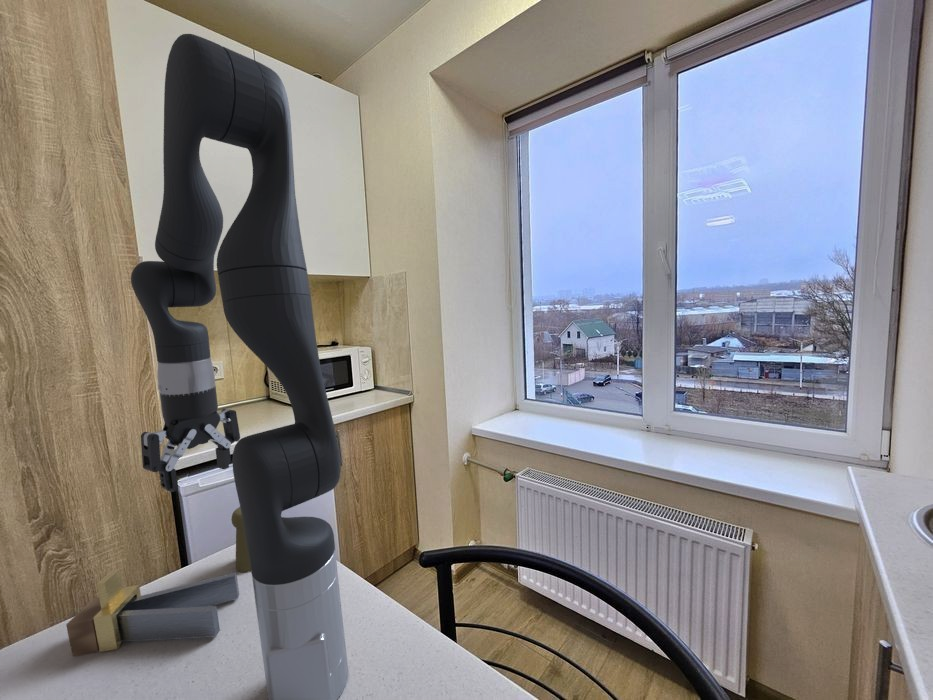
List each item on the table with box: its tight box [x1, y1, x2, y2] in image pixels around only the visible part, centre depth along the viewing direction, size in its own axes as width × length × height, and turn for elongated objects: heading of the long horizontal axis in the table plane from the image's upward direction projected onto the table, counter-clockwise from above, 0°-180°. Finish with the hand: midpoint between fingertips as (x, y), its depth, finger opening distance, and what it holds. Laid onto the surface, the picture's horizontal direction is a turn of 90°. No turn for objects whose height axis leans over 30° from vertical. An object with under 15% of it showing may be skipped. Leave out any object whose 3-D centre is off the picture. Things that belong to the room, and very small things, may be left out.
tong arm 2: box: [121, 571, 240, 611], centre depth 61 cm, size 16×1×4 cm, turn 110°
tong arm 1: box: [116, 605, 221, 642], centre depth 57 cm, size 16×1×4 cm, turn 90°
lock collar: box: [93, 568, 142, 653], centre depth 58 cm, size 2×6×9 cm, turn 10°
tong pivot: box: [65, 597, 101, 657], centre depth 57 cm, size 3×5×5 cm, turn 10°
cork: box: [231, 506, 251, 573], centre depth 73 cm, size 6×6×11 cm
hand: (199, 478), depth 66 cm, fingers open, 8 cm apart
